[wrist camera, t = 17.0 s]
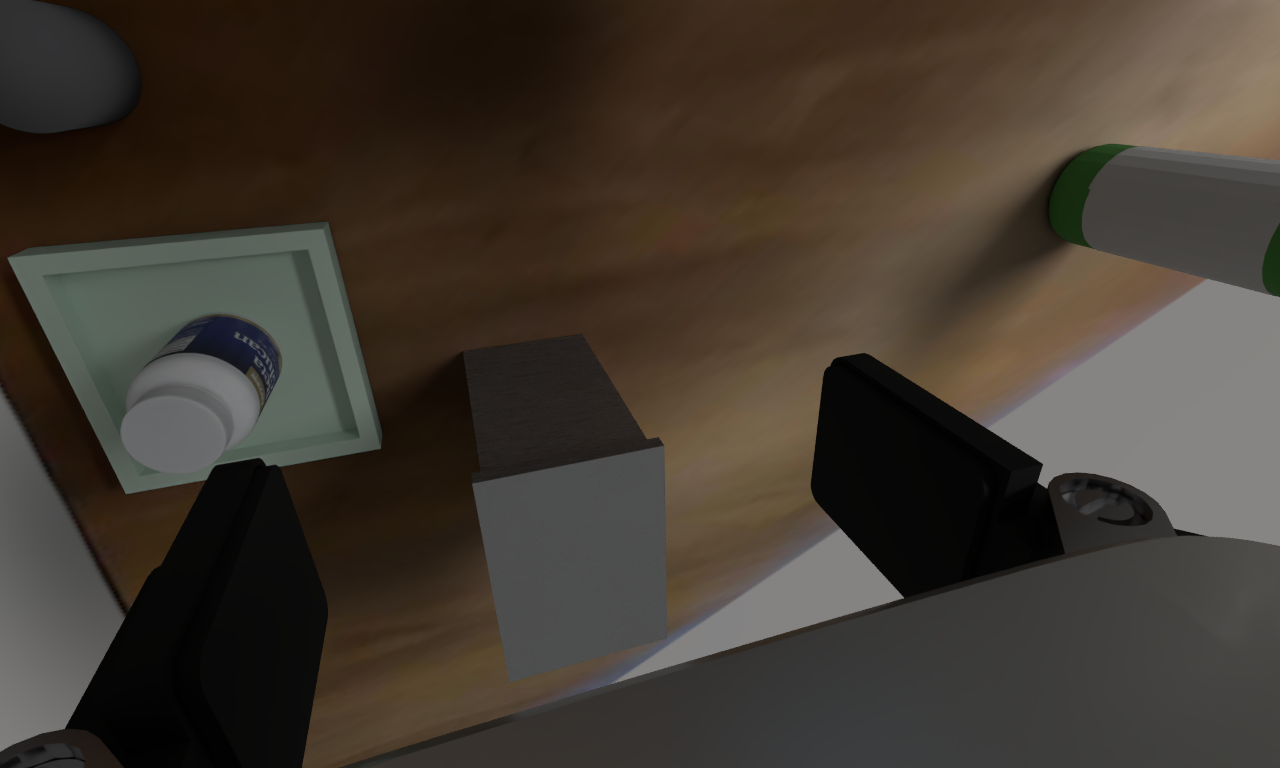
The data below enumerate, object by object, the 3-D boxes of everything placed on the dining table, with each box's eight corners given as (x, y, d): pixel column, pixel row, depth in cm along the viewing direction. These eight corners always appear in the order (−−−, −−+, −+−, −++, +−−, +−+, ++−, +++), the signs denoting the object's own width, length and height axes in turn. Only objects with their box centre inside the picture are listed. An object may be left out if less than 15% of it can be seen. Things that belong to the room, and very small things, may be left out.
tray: (328, 221, 35) (323, 228, 33) (382, 433, 41) (380, 448, 40) (29, 247, 31) (6, 257, 30) (139, 475, 38) (125, 494, 36)
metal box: (588, 327, 43) (666, 445, 29) (600, 480, 48) (668, 637, 35) (455, 346, 40) (472, 483, 27) (484, 504, 46) (509, 682, 33)
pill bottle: (306, 362, 37) (272, 445, 29) (230, 411, 37) (174, 508, 29) (234, 290, 35) (174, 359, 26) (152, 343, 34) (65, 429, 26)
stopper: (116, 4, 29) (63, -8, 24) (158, 122, 31) (116, 129, 27) (-16, 5, 27) (-97, -7, 23) (38, 127, 30) (-26, 137, 25)
